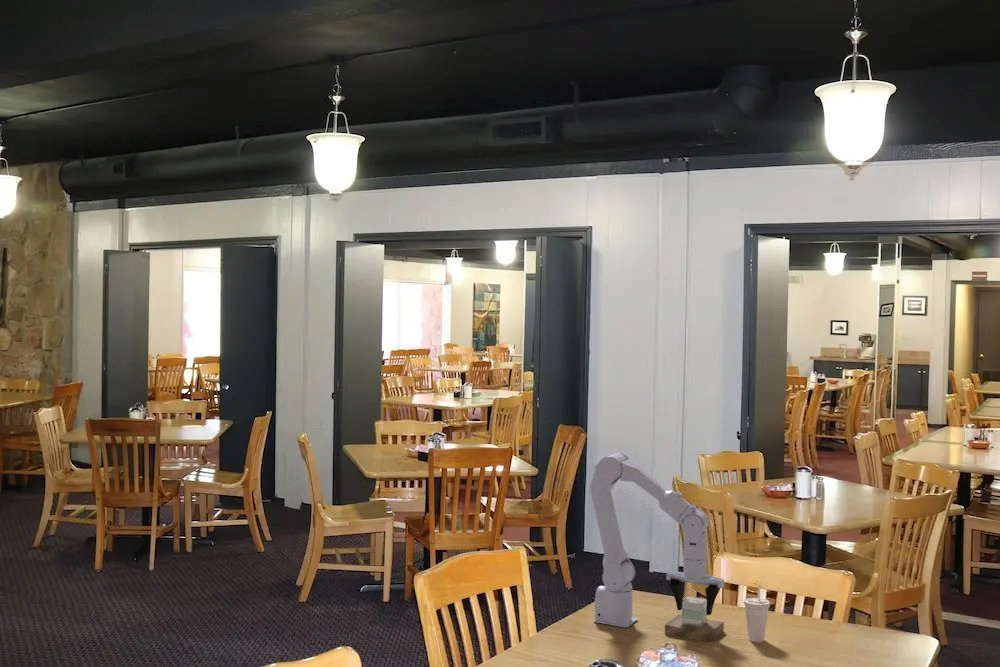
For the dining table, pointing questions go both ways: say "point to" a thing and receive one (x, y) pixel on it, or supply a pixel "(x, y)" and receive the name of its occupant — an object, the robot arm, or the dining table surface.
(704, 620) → the steel tin
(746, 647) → the dining table surface
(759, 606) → the smoothie
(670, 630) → the walnut block
